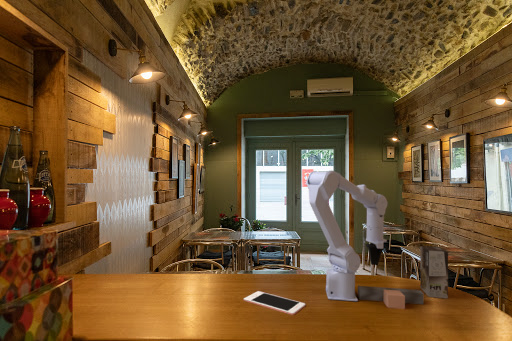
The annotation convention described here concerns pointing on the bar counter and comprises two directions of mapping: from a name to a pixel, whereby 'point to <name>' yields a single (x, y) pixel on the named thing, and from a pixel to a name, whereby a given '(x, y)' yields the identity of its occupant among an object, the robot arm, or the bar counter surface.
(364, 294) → the gray rectangular bar
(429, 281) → the coffee box
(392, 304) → the block
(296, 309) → the cell phone
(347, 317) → the bar counter surface
